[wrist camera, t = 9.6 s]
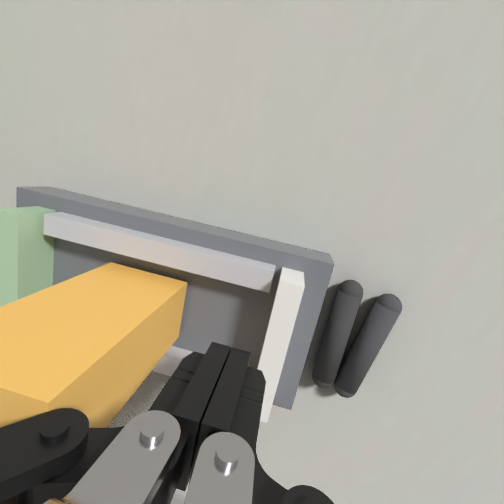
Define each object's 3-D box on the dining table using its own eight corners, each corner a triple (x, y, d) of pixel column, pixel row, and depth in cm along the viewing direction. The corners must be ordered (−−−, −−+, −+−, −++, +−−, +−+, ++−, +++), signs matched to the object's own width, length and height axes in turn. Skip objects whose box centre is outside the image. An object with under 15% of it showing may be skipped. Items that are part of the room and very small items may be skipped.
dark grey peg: (340, 274, 15) (343, 281, 14) (363, 280, 15) (369, 287, 14) (309, 375, 16) (310, 389, 15) (330, 381, 16) (332, 395, 15)
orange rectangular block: (187, 282, 14) (48, 402, 6) (178, 337, 15) (44, 505, 7) (110, 262, 14) (-111, 351, 7) (105, 316, 15) (-98, 454, 7)
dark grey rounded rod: (379, 286, 15) (385, 295, 14) (401, 295, 15) (410, 304, 14) (329, 382, 16) (331, 397, 15) (349, 390, 16) (353, 406, 15)
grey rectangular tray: (329, 254, 15) (340, 278, 11) (291, 384, 17) (290, 443, 13) (49, 186, 16) (-27, 187, 13) (45, 312, 18) (-22, 346, 15)
